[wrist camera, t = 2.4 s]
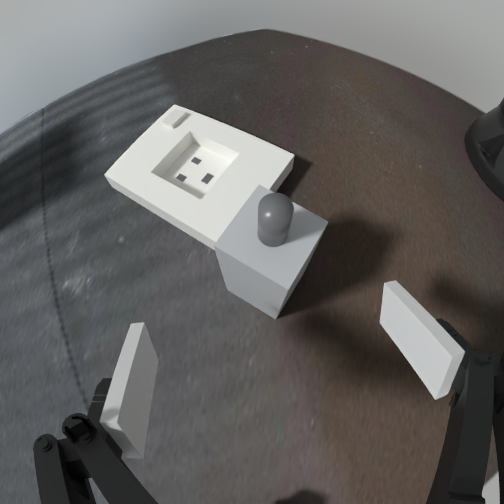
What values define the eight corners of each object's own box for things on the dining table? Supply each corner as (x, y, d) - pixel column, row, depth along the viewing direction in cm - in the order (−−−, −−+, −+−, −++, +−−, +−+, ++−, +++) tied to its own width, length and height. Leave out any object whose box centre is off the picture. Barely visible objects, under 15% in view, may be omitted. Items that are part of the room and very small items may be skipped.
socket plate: (292, 169, 32) (295, 151, 29) (228, 258, 28) (226, 245, 26) (177, 118, 35) (173, 100, 32) (112, 186, 32) (102, 171, 29)
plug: (304, 272, 28) (340, 196, 16) (275, 319, 26) (295, 273, 14) (251, 242, 29) (249, 150, 17) (221, 285, 27) (196, 215, 15)
